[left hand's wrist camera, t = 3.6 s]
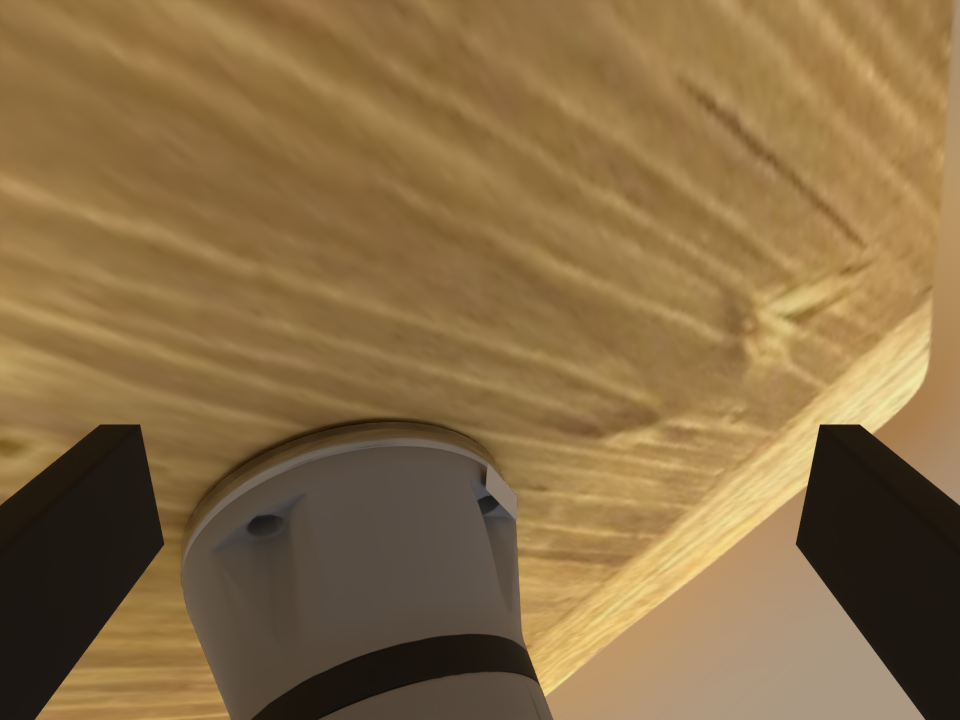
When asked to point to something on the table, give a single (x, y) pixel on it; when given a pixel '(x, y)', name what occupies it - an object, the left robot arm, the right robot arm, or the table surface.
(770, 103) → the table surface
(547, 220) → the table surface
